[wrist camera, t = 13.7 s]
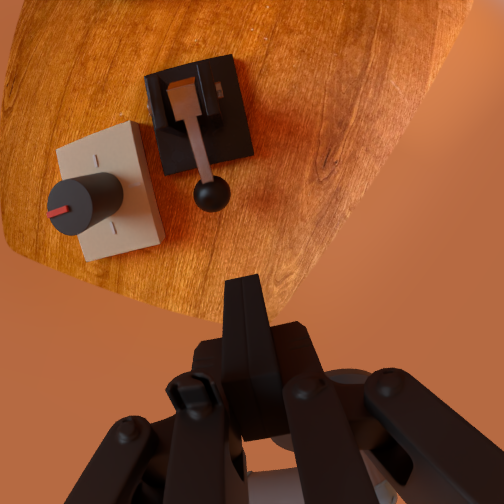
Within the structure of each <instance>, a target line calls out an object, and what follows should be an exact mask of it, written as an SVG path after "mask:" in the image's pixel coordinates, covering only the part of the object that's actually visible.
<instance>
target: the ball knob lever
mask: <svg viewBox="0 0 504 504" xmlns="http://www.w3.org/2000/svg"><path fill="white" fill-rule="evenodd" d="M167 94H168V98H169V101H170V105H171V108H172V111H173V115H174V118H175V121H180V120H184V123H185V127H186V130H187V134H188V137H189V141H190V144H191V147H192V151H193V154H194V158H195V161H196V164H197V168H198V171H199V174H200V178H201V180H199V181H198V183H197V184H196V186H195V188H194V192H193V196H194V200H195V203H196V204H197V206H198V207H199V208H200V209H202V210H203V211H206V212H211V213H213V212H218V211H220V210H222V209H223V208H225V207H226V205H227V204H228V202H229V200H230V196H231V192H230V187H229V185H228V184H227V182H226V181H225V180H224V179H222V178H221V177H218V176H214V175H213V173H212V169H211V165H210V162H209V158H208V154H207V150H206V147H205V143H204V139H203V135H202V131H201V128H200V124H199V120H198V116H199V115H202V103H201V99H200V95H199V91H198V86H197V82H196V78H195V77H191V78H187V79H184V80H180V81H176V82H172V83H169V86H168V88H167Z"/></svg>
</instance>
